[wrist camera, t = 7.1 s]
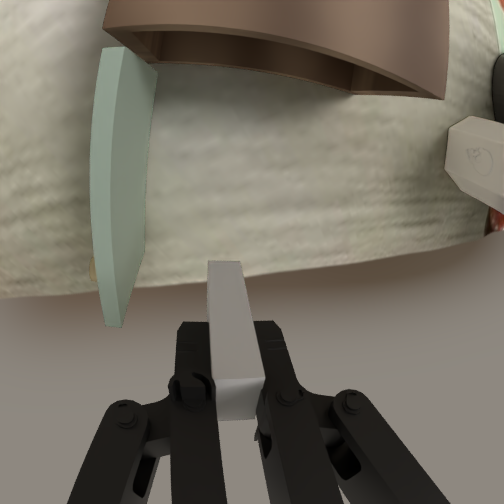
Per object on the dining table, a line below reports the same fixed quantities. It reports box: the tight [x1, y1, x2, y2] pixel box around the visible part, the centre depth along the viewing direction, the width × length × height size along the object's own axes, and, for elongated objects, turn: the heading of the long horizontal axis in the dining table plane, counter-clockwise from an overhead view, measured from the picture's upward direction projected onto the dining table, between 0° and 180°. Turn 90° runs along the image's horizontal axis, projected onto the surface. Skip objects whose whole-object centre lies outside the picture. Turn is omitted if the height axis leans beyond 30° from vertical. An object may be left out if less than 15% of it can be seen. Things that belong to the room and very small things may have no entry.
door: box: [89, 46, 158, 328], centre depth 15 cm, size 14×3×9 cm, turn 170°
